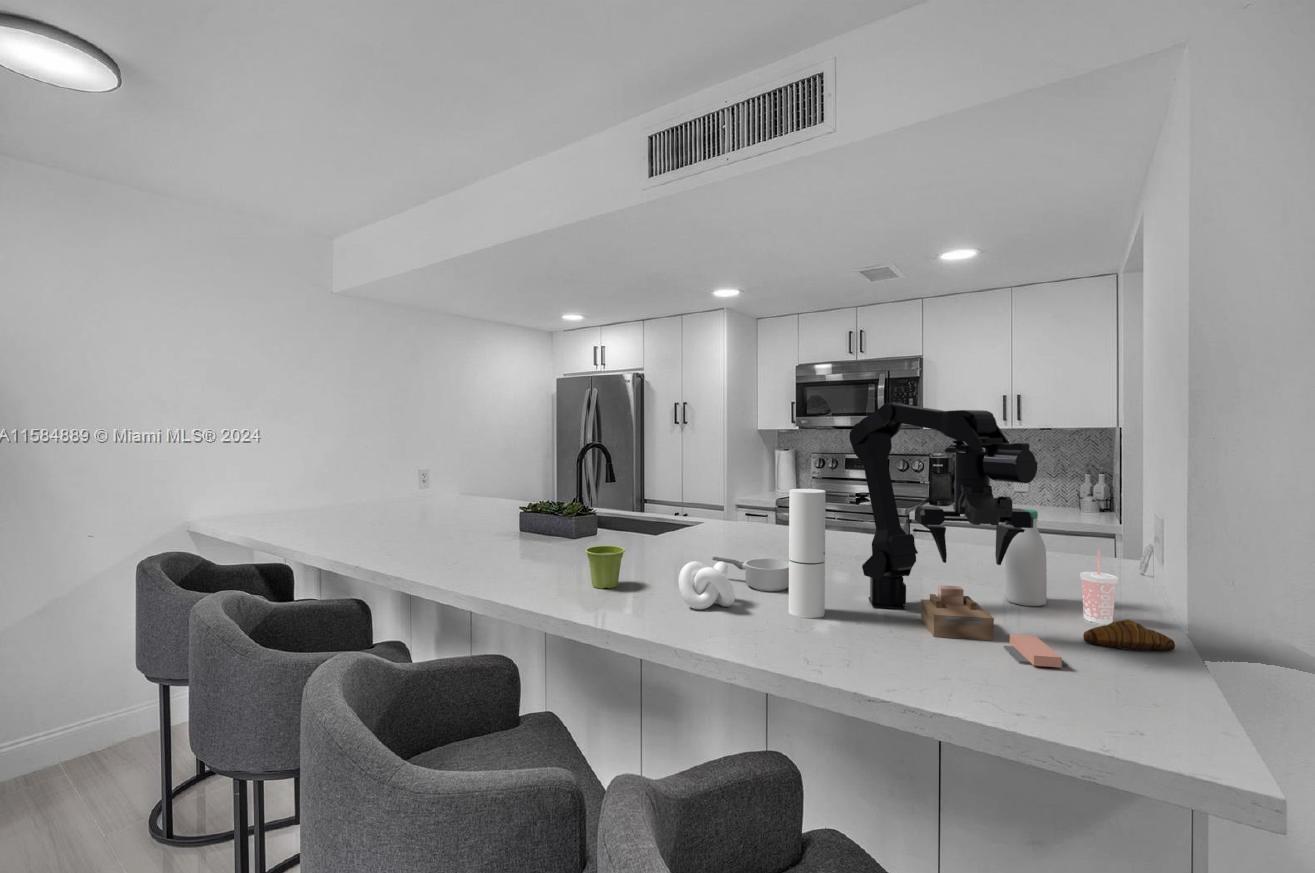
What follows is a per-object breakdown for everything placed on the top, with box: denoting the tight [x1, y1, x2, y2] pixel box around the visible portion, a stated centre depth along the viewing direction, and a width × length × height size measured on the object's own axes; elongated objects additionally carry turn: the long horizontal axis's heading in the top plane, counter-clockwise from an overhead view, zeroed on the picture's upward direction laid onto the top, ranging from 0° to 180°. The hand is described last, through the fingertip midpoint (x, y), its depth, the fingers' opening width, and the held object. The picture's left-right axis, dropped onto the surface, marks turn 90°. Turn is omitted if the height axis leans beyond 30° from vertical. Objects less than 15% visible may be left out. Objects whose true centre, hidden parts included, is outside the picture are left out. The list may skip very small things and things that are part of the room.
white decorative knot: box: [678, 560, 736, 611], centre depth 130 cm, size 11×12×9 cm
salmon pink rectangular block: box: [1009, 633, 1063, 668], centre depth 102 cm, size 4×10×2 cm, turn 169°
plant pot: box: [585, 545, 626, 590], centre depth 146 cm, size 9×9×9 cm
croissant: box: [1082, 619, 1176, 652], centre depth 106 cm, size 14×7×5 cm, turn 75°
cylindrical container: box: [788, 488, 826, 619], centre depth 125 cm, size 7×7×25 cm
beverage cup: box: [1079, 549, 1119, 625], centre depth 120 cm, size 6×6×14 cm
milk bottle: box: [1004, 508, 1048, 607], centre depth 133 cm, size 8×8×20 cm
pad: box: [1003, 645, 1069, 667], centre depth 102 cm, size 7×7×1 cm
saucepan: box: [712, 556, 789, 592], centre depth 147 cm, size 12×20×6 cm, turn 60°
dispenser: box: [920, 584, 995, 641], centre depth 115 cm, size 10×10×7 cm
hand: (971, 563), depth 112 cm, fingers open, 9 cm apart
